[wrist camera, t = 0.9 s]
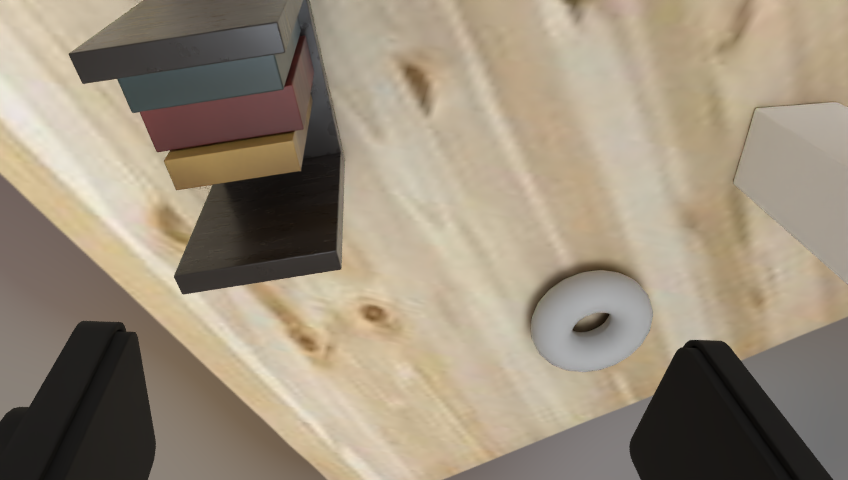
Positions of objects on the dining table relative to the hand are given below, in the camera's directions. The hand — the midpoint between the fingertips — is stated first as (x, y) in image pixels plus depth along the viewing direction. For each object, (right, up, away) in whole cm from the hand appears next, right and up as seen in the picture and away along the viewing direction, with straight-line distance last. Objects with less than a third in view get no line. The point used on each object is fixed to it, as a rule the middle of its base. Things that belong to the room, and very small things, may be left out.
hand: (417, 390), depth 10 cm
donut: (+14, -3, +39) cm, 41 cm away
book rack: (-10, +12, +25) cm, 30 cm away
